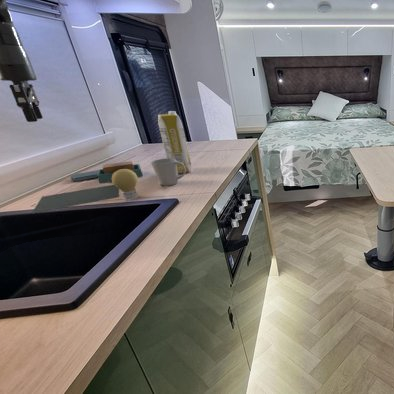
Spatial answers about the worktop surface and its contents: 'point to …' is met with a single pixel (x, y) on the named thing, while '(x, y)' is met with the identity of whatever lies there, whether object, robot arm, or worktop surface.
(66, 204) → the slate board
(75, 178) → the smartphone
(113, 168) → the eraser
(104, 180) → the tray
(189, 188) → the worktop surface
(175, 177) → the cup
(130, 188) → the light bulb
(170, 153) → the juice carton
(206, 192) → the worktop surface
